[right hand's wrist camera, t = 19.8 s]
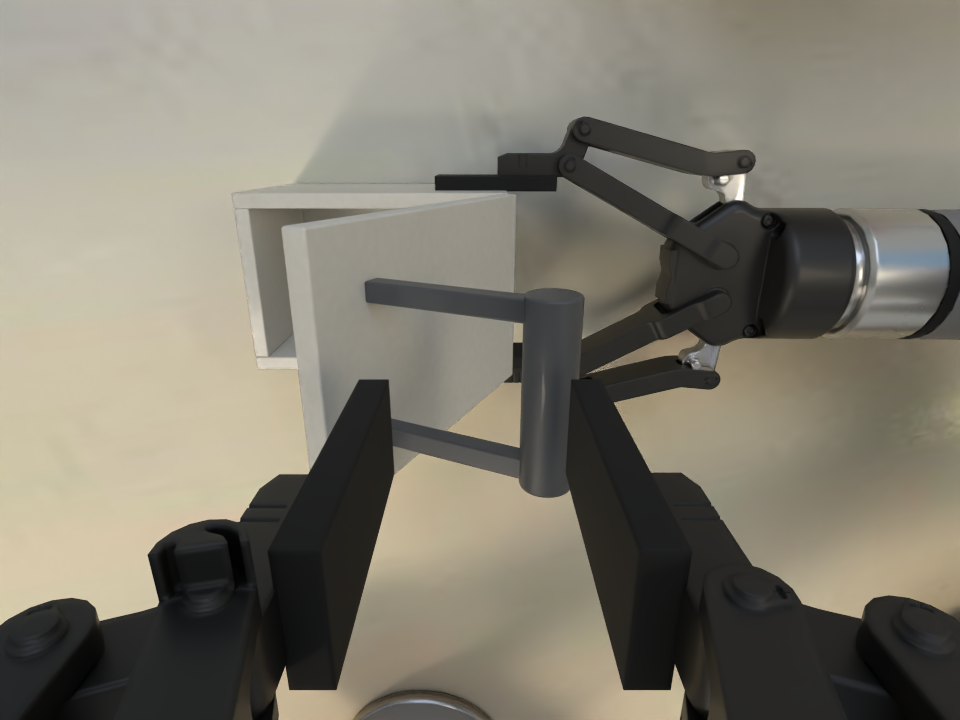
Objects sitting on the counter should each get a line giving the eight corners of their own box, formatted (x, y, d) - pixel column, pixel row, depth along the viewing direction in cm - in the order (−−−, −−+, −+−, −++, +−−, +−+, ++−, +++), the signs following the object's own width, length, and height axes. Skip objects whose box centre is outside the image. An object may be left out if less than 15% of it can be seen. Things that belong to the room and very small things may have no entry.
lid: (314, 518, 19) (537, 595, 15) (279, 226, 15) (552, 245, 12) (498, 372, 31) (642, 397, 28) (500, 193, 28) (664, 198, 25)
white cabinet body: (307, 321, 41) (256, 369, 32) (292, 183, 37) (231, 193, 28) (500, 322, 40) (505, 370, 31) (502, 183, 37) (508, 193, 28)
